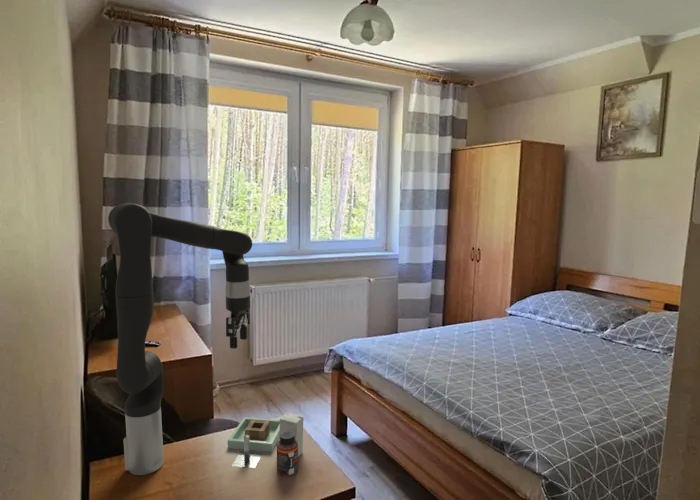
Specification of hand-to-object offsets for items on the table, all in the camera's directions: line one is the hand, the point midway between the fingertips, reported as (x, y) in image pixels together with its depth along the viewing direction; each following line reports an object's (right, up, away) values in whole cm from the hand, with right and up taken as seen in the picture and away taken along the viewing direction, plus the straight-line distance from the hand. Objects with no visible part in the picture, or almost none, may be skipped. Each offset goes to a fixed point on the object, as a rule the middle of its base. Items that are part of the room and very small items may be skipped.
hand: (238, 343), depth 144 cm
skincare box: (+18, -32, -9) cm, 38 cm away
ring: (+6, -30, -1) cm, 30 cm away
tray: (+6, -30, -1) cm, 31 cm away
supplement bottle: (+18, -33, -17) cm, 41 cm away
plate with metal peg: (+6, -32, -13) cm, 35 cm away
